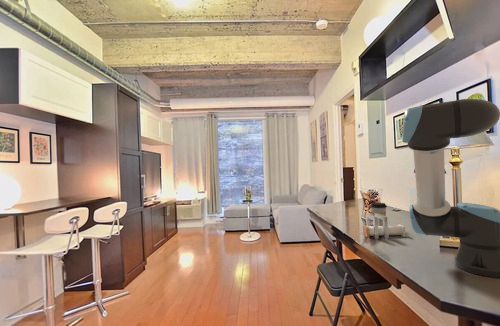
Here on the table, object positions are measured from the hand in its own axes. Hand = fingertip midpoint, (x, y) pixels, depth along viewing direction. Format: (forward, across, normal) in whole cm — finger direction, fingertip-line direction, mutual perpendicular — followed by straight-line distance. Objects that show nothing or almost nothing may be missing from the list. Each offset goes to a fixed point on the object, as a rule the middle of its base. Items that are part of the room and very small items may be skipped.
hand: (429, 188), depth 117 cm
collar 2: (+27, +14, +18) cm, 35 cm away
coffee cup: (+27, +31, +12) cm, 43 cm away
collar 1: (+27, +14, +23) cm, 38 cm away
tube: (+27, +14, +17) cm, 35 cm away
